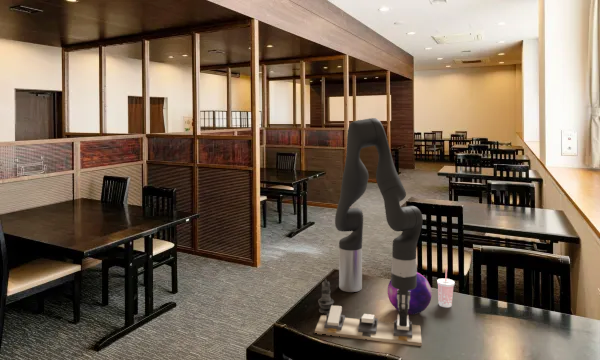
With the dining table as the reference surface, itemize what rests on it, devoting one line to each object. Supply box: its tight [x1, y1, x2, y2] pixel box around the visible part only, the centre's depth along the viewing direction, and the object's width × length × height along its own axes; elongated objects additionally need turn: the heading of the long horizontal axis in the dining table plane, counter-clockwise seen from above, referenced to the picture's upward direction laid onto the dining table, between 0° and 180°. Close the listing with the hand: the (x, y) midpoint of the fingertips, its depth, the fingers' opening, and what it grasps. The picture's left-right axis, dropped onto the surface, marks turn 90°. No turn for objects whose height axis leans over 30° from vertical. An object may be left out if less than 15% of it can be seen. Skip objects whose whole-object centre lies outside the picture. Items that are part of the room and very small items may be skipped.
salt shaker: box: [317, 278, 335, 315], centre depth 145 cm, size 6×6×12 cm
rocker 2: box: [361, 313, 376, 323], centre depth 132 cm, size 8×4×1 cm, turn 166°
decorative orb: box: [387, 271, 433, 315], centre depth 143 cm, size 15×15×15 cm
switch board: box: [314, 313, 423, 347], centre depth 131 cm, size 11×33×4 cm, turn 75°
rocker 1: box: [327, 304, 343, 326], centre depth 134 cm, size 8×4×1 cm, turn 165°
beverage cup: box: [436, 267, 456, 308], centre depth 148 cm, size 6×6×14 cm
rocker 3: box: [396, 313, 410, 330], centre depth 129 cm, size 8×4×1 cm, turn 165°
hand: (403, 325), depth 125 cm, fingers closed
